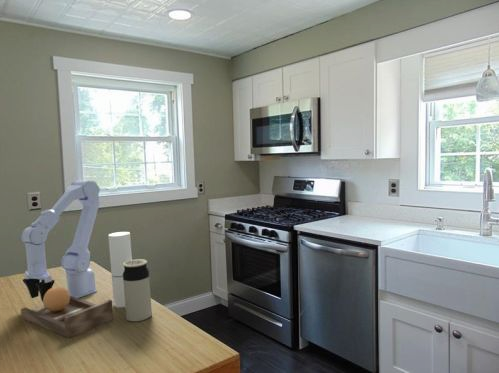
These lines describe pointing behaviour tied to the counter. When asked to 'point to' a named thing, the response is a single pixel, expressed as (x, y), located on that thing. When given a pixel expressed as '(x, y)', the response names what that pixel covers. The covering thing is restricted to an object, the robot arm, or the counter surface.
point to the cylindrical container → (119, 263)
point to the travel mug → (137, 290)
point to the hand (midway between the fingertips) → (40, 299)
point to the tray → (71, 316)
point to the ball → (56, 299)
